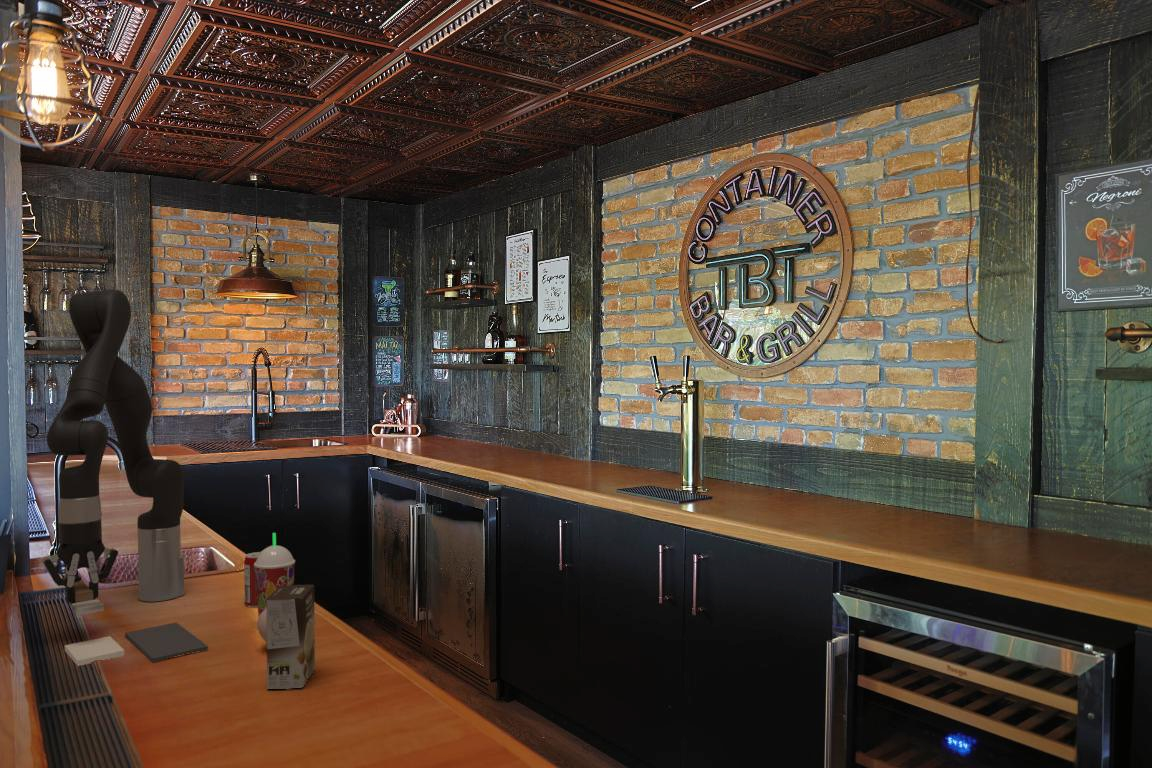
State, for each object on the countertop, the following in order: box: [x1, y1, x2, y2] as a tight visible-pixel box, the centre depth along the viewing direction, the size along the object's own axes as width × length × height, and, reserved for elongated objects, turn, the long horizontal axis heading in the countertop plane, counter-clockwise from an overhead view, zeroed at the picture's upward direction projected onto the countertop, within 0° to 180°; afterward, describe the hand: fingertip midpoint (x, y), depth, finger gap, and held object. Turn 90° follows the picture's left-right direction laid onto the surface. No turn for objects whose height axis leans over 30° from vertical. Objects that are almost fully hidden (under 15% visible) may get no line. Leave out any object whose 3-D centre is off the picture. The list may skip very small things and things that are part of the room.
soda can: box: [243, 551, 262, 608], centre depth 195 cm, size 6×6×12 cm
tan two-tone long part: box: [71, 580, 105, 616], centre depth 170 cm, size 15×5×3 cm, turn 42°
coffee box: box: [266, 584, 316, 690], centre depth 149 cm, size 9×6×16 cm
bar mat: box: [124, 622, 209, 664], centre depth 169 cm, size 10×20×1 cm, turn 42°
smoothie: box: [254, 532, 296, 619], centre depth 179 cm, size 8×8×20 cm
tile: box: [64, 635, 126, 667], centre depth 163 cm, size 8×2×11 cm
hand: (82, 601), depth 170 cm, fingers closed on tan two-tone long part, 3 cm apart
